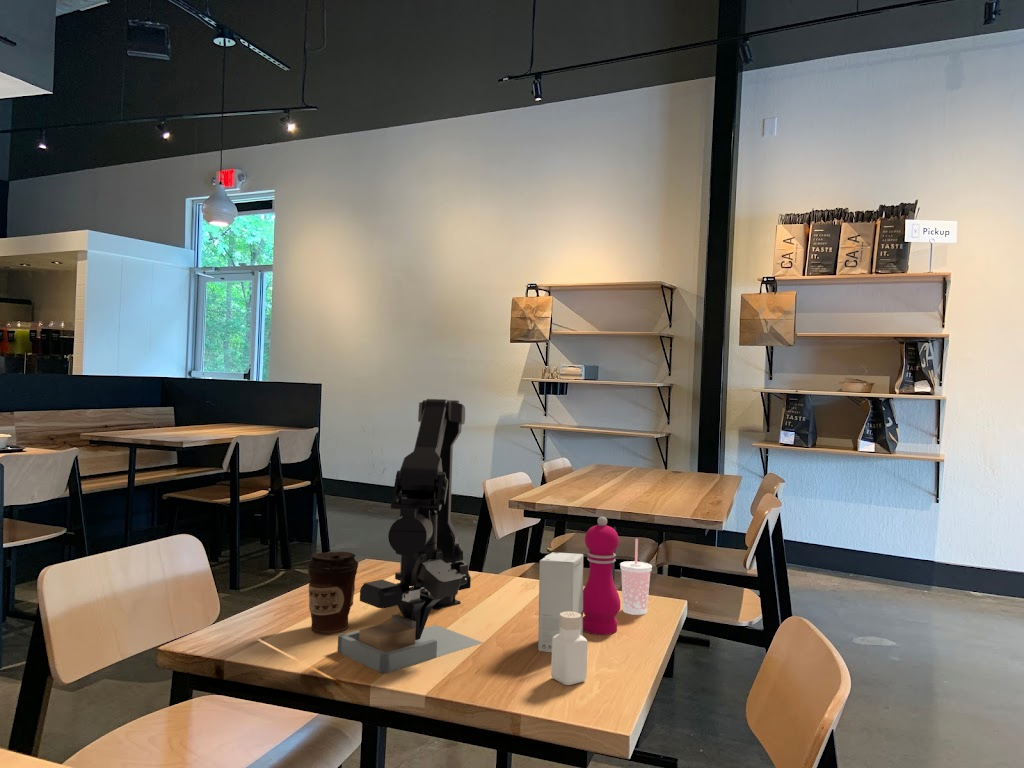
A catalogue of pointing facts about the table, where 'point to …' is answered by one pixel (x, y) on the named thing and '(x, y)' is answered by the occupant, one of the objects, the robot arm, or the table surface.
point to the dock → (404, 649)
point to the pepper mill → (601, 581)
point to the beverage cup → (635, 585)
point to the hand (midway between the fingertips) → (416, 639)
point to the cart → (390, 634)
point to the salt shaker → (569, 651)
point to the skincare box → (558, 593)
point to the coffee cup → (331, 591)
